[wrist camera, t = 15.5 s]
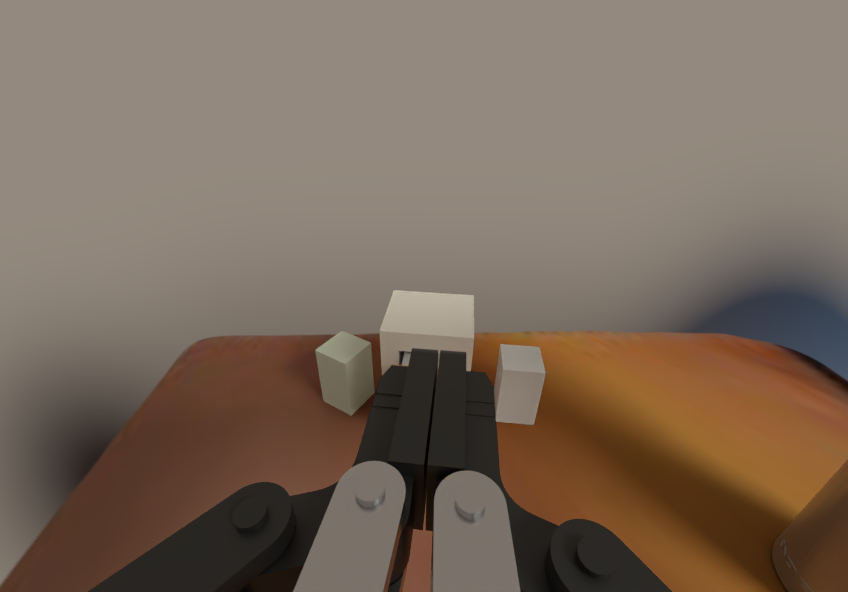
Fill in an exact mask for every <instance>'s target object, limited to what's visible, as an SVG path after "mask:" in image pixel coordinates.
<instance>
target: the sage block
mask: <svg viewBox="0 0 848 592" xmlns="http://www.w3.org/2000/svg"><path fill="white" fill-rule="evenodd" d="M315 353H316V359H317V365H318V371H319V377H320V384H321V390H322V396H323V401H324V402H326V403H328V404H330V405H332V406H334V407H336V408H337V409H339V410H341V411H343V412H345V413H347V414H349V415H351V416H352V415H353V414H354V413H355V412H356V411H357V410H358V409H359V408H360V407H361V406H362V405H363V404H364V403H365V402H366V401H367V400H368V399H369V398H370V397H371V396H372V395H373V394H374V380H373V365H372V351H371V342H368V341H366V340H363V339H361V338H358V337H356V336H354V335H351V334H349V333H346V332H344V331H341V332H340V333H338V334H337V335H335V336H334V337H332V338H331V339H330V340H328V341H327V342H326V343H324V344H323V345H321V346H320V347H319V348H317V349H316V350H315Z"/></svg>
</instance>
